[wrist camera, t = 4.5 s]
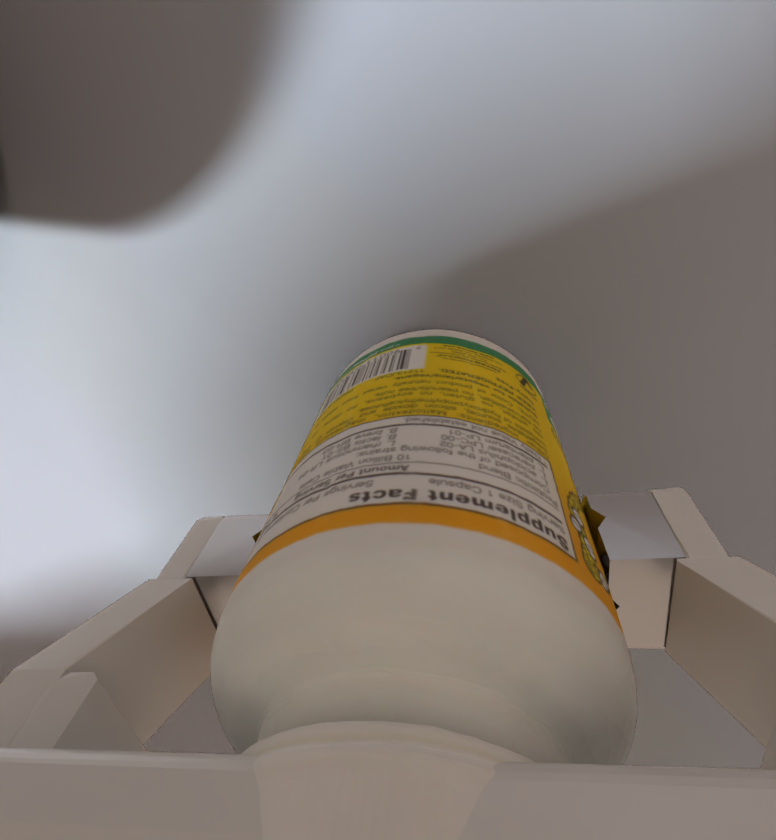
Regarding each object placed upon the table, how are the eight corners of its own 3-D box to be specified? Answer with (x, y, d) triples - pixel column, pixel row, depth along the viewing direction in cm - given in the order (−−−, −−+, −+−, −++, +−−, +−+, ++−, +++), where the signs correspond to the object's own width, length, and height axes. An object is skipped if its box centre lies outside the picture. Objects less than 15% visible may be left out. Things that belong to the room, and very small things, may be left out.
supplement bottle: (357, 291, 11) (41, 782, 3) (592, 367, 11) (985, 1044, 3) (306, 483, 14) (71, 1029, 5) (498, 542, 14) (558, 1158, 6)
